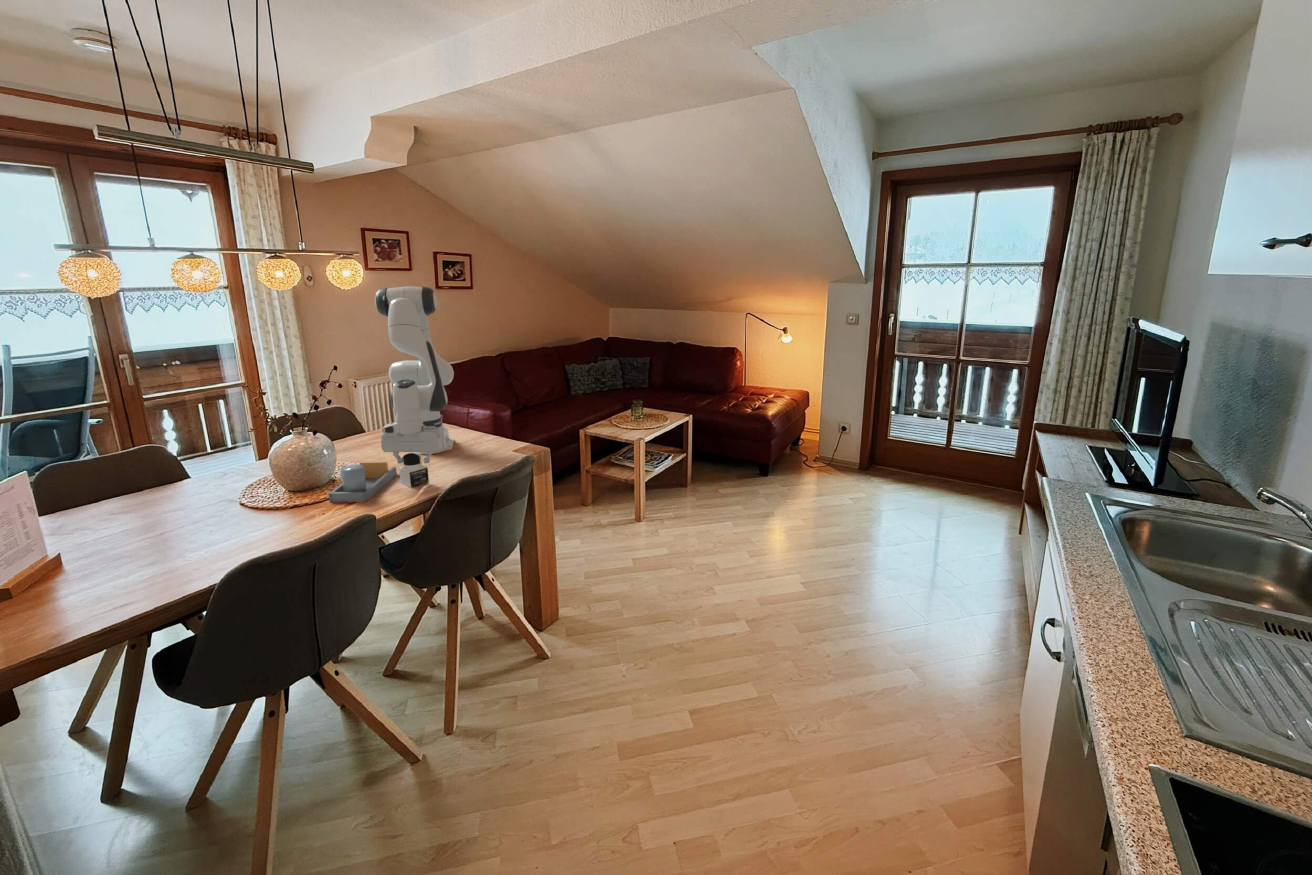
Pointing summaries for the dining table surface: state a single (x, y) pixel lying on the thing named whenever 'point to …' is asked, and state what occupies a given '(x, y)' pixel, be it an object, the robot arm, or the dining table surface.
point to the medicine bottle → (413, 471)
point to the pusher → (374, 469)
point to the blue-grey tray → (372, 488)
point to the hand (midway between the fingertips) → (413, 462)
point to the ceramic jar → (353, 478)
